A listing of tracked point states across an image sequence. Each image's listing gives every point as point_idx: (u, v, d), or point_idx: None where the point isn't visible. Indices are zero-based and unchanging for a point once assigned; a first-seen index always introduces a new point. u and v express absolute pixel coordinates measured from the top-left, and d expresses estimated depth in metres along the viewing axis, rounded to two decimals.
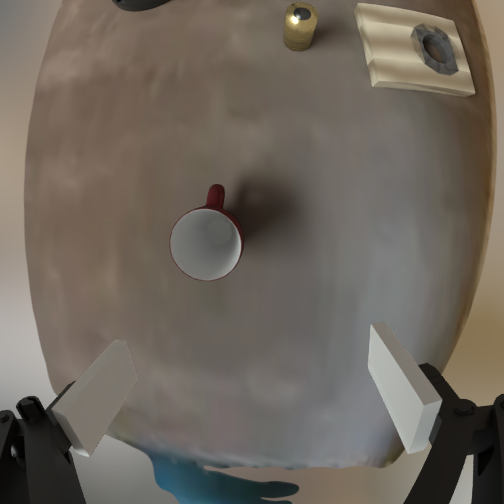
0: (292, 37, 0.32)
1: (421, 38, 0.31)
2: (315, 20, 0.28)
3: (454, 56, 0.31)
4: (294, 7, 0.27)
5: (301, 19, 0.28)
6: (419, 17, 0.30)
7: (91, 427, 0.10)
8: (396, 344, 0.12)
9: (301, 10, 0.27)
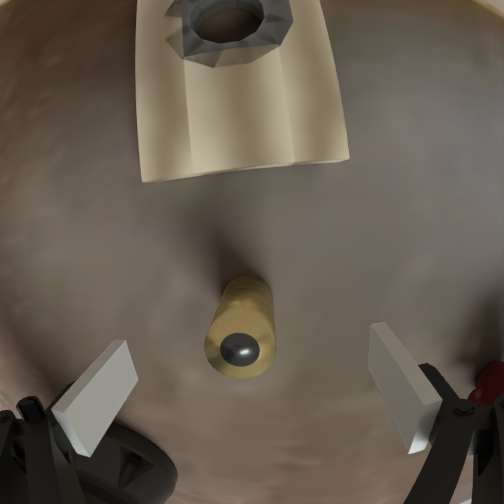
0: None
1: (209, 44, 0.17)
2: (257, 324, 0.16)
3: None
4: (222, 362, 0.16)
5: (258, 352, 0.16)
6: (150, 46, 0.17)
7: (91, 427, 0.10)
8: (396, 344, 0.12)
9: (230, 351, 0.16)
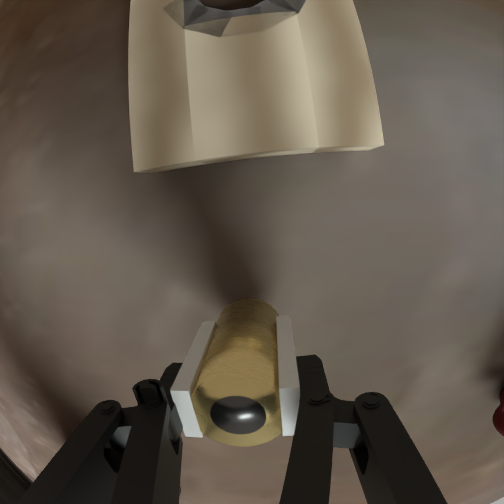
0: None
1: (215, 11, 0.13)
2: (263, 386, 0.10)
3: None
4: (214, 429, 0.11)
5: (263, 419, 0.10)
6: (146, 16, 0.14)
7: None
8: (287, 335, 0.14)
9: (224, 416, 0.11)
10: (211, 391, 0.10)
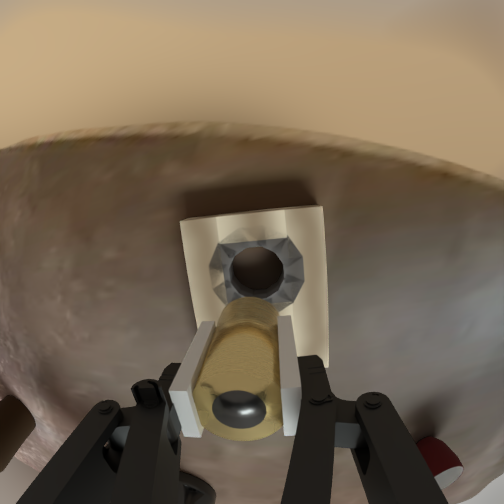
0: None
1: None
2: (263, 380, 0.11)
3: (261, 240, 0.29)
4: (215, 423, 0.11)
5: (264, 413, 0.11)
6: (202, 293, 0.31)
7: None
8: (289, 335, 0.14)
9: (225, 411, 0.11)
10: (213, 386, 0.11)
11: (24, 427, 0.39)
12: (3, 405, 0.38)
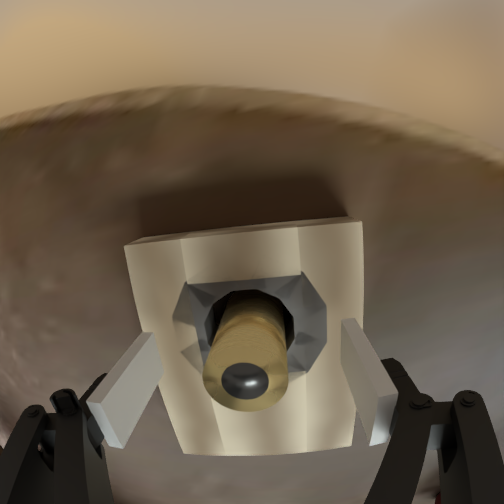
0: None
1: None
2: (266, 353, 0.13)
3: (257, 279, 0.17)
4: (224, 395, 0.13)
5: (266, 384, 0.13)
6: (165, 355, 0.19)
7: (124, 418, 0.11)
8: (362, 339, 0.13)
9: (233, 382, 0.13)
10: (222, 359, 0.13)
11: None
12: None
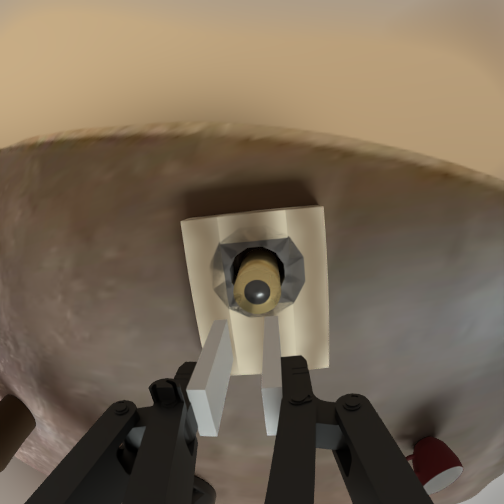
0: None
1: None
2: (268, 273, 0.25)
3: (262, 240, 0.29)
4: (245, 302, 0.25)
5: (269, 293, 0.25)
6: (202, 293, 0.31)
7: (217, 405, 0.12)
8: (274, 335, 0.14)
9: (250, 293, 0.25)
10: (245, 278, 0.25)
11: (24, 427, 0.39)
12: (3, 404, 0.38)
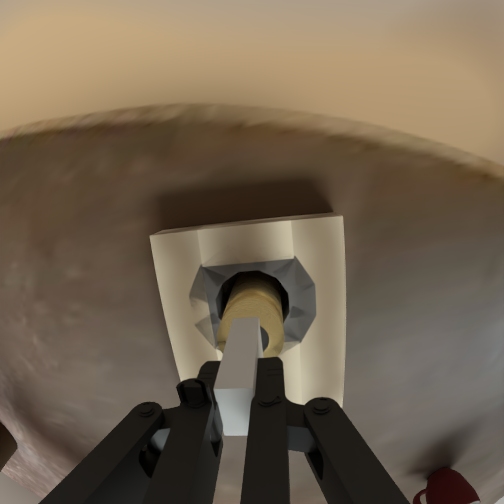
0: None
1: None
2: (266, 315, 0.17)
3: (259, 261, 0.21)
4: None
5: (267, 342, 0.17)
6: (181, 328, 0.23)
7: None
8: (252, 336, 0.14)
9: None
10: None
11: (5, 449, 0.31)
12: None
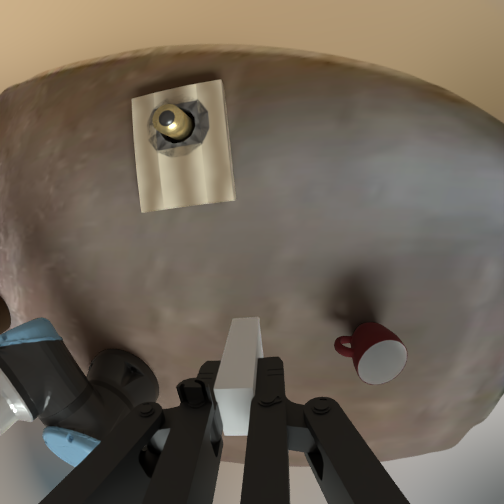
0: (187, 129, 0.39)
1: (169, 144, 0.40)
2: (173, 105, 0.34)
3: (180, 103, 0.39)
4: (159, 125, 0.35)
5: (174, 118, 0.35)
6: (141, 143, 0.40)
7: None
8: (252, 336, 0.14)
9: (162, 119, 0.35)
10: (159, 110, 0.35)
11: None
12: None
